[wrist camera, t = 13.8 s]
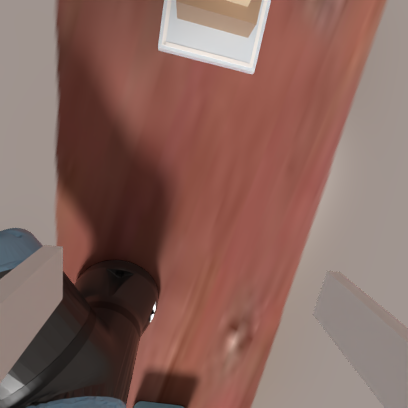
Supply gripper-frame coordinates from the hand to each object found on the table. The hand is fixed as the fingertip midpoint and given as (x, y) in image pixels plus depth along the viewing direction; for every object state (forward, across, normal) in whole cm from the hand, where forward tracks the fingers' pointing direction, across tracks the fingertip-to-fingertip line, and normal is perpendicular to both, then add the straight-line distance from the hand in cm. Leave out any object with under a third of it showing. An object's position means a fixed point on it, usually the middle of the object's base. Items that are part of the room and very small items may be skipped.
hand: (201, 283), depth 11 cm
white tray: (+28, +1, +27) cm, 39 cm away
